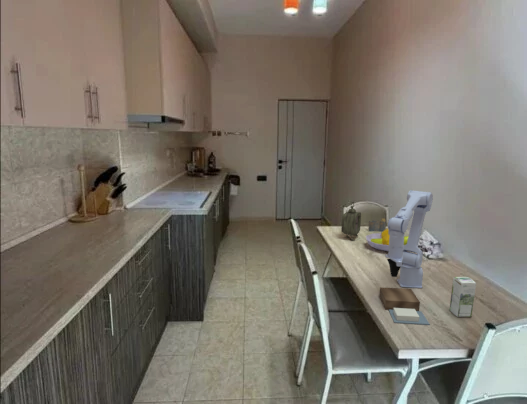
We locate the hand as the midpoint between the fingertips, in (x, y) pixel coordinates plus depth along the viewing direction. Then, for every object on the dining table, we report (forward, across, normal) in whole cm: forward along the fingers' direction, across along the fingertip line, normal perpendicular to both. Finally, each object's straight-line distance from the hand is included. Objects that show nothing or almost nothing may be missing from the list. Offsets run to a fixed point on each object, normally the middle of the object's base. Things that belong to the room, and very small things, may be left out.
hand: (393, 276), depth 150 cm
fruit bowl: (+10, -66, +13) cm, 68 cm away
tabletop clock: (+10, -85, -8) cm, 86 cm away
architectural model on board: (+10, -106, +13) cm, 107 cm away
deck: (+9, +6, +1) cm, 11 cm away
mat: (+9, +17, +2) cm, 20 cm away
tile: (+7, +18, +1) cm, 19 cm away
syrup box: (+10, +12, +23) cm, 28 cm away
